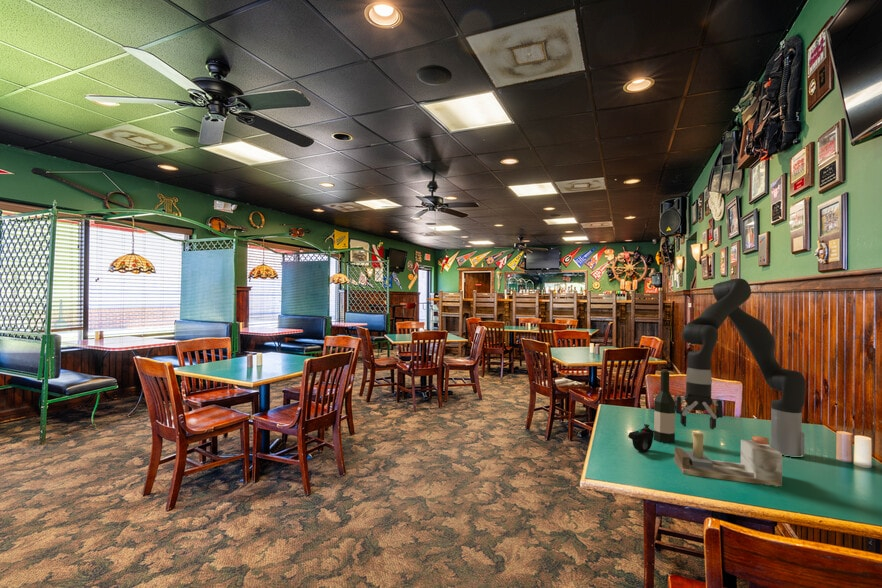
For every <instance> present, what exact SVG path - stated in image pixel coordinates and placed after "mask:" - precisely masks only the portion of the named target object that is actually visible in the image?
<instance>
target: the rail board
mask: <svg viewBox="0 0 882 588" xmlns="http://www.w3.org/2000/svg"><path fill="white" fill-rule="evenodd" d="M684 451H685V450H684V449H683V448H682V447H679V446H675V447H674V457H673V462H674V463H675V464H676V466H677V467H678V469H679V470H680V472H681V473H682V474H683V475H685V476H686V475H688V476H695V477H703V478H711V479H717V480H724V481H725V480H727V481H731V482H740V483H750V484H755V483H756V484H758V485H763V484H765V485H764V486H770V485H775V486H774V487H778V486H782V487H783V456H782V454H781V453H780V452H778V451H777V450H775V449H774V448H773V447H771V444H770V445H769V444H768V445H765V444H758V443H755V442H753V441H752V440H751V439H740V462H733V461H726V460H718V459H717V460H715V459H709V460H710V461H711V462H712V463H713V468H707V467H699V466H692V464H691V463H690V462H689V457H688V455H687V454H686V453H685V452H684Z"/></svg>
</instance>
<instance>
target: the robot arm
mask: <svg viewBox="0 0 882 588" xmlns="http://www.w3.org/2000/svg"><path fill="white" fill-rule="evenodd" d="M751 294H752V289H751V286H750V283H749V282H748V281H747V280H746V279H744V278H741V277H740V278H733V279H728V280H725V281H720V282H718V283H715V284H713V287H712V295H713V297H714V298H715V300H716V302H714V303H712V304H711V305H709V306H707V308H706V309H705V310H704V311H703V312H702V313H701V314H700V316H698V317H696V318H695V319H693V320H691V321H689V322H688V323H686V325H685V326H684V327H683V328H682V332H681V337H682V339H683V341H684V342H685V343H687V344H692V345H698V346H699V345H700V346H701V349H700V350H692V351H689V352H688V353H687V361H686V362H687V363H686V364H687V369H686V374H685V375H686V379H685V389H686V390H685V396H680V395H678V394H677V395H675V399H674V401H675V409H674V410H675V414H679V415H680V416H679V417H680V419H679V420H680V424H681V426H682V427H687V414H688V413H690V412H691V411H692V410H693V411H700V412H705V411H706V412H707V413H708V415H709V416H710V417H709V429H711V430H715V429H716V428H717V419H719V418H721V419H722V418H723V417H724V411H723V410H724V409H723V400H721V399H719V398H716V399H712V383H713V379H712V356H713V352H714V350H715V347H716V344H717V341H718V337H719V333H718V329H720V327H721V326H722V325H723V323H724V322H725V321H726V319H727V318H729V319H730V320H731V322H732V323H733V325H734V327H735V329H736V330H737V331H738V334H739V335H740V338H741V339H742V341H743V342H744V344H745V345H746V347H747V349H748V350H749V351H750V353H751V355H752V356H753V357H752V358H754V360H755V362H756V363H757V365H758V367H759V370H760V372H761V374H762V376H763V378H764V381H765V382H766V385H768V386H769V388H771V389H772V390H774V391H777V392H781V398H780V399H774V400H772V401H771V403H770V404H771V405H770V409H771V410H770V446H771V447H773V448H774V449H775V450H777V451H778V452H780V453H781V454H782V455H789V456H801V455H803V456H804V457H805V432H804V431H802V430H803V426H802V424H803V422H802V421H803V419H802V418H803V416H802V415H803V414H802V413H803V407H804V405H805V399H806V388H807V387H806V385H807V382H806V378H805V376H804V375H803V373H801V372H799V371H797V370H793V369H787V368H783V367H782V366H781V365H780V364H779V363H778V361H777V359H776V357H775V355H774V354H775V348H776V347H775V346H776V340H775V338H774V336H773V335H772V333H771V331H770V329H769V327H767V324H765V323H764V322H762V321H761V320H760V319H759V318H756V317H755V316H752V315H751V314H749V313H747V312H746V311H744V310H743V309H742V308H741V305H743V304H744V303H745V302H747V301H748V300H749V299H750V297H751V296H752V295H751ZM684 401H685V403H686V404H685V405H684V406H683V408H682V409H681V405H682V404H683V402H684ZM712 405H713V406H715V413H714V411H713V410H712V409H711V406H712Z"/></svg>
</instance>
